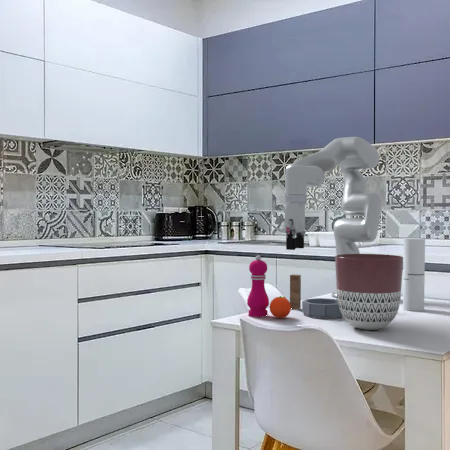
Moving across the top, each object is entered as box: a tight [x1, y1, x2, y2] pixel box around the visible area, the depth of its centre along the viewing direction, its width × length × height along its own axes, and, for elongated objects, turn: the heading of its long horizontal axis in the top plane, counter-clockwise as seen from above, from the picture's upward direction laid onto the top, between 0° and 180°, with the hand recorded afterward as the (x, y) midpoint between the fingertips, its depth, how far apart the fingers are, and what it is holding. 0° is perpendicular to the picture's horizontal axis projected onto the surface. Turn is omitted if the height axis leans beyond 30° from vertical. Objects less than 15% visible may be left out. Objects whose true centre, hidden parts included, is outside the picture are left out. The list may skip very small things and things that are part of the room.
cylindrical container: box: [402, 237, 426, 312], centre depth 205 cm, size 7×7×25 cm
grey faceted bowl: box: [301, 297, 343, 319], centre depth 194 cm, size 13×13×4 cm
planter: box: [334, 253, 404, 331], centre depth 172 cm, size 20×20×21 cm
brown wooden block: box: [289, 274, 302, 310], centre depth 205 cm, size 3×3×12 cm
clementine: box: [269, 295, 292, 319], centre depth 189 cm, size 8×7×7 cm
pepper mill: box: [246, 255, 270, 318], centre depth 192 cm, size 7×7×20 cm
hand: (295, 248), depth 205 cm, fingers open, 9 cm apart
